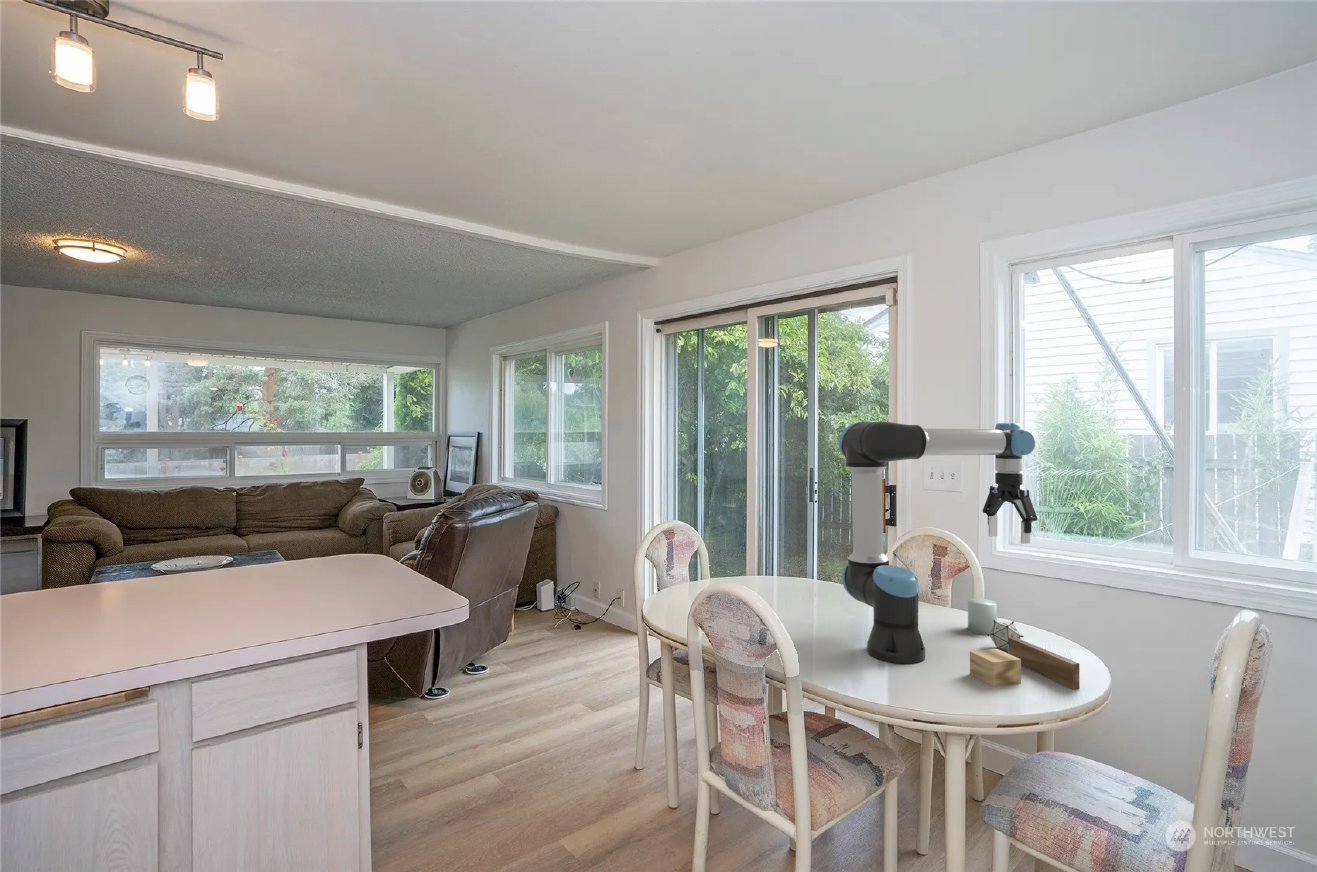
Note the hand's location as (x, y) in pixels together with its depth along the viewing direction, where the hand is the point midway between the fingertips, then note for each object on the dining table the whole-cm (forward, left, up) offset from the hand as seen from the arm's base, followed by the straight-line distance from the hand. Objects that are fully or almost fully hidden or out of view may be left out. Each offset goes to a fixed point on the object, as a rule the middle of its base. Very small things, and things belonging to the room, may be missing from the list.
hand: (1008, 539), depth 198 cm
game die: (-16, -17, -28) cm, 36 cm away
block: (-34, -34, -28) cm, 56 cm away
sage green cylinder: (-10, -1, -28) cm, 30 cm away
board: (-20, -34, -28) cm, 48 cm away
